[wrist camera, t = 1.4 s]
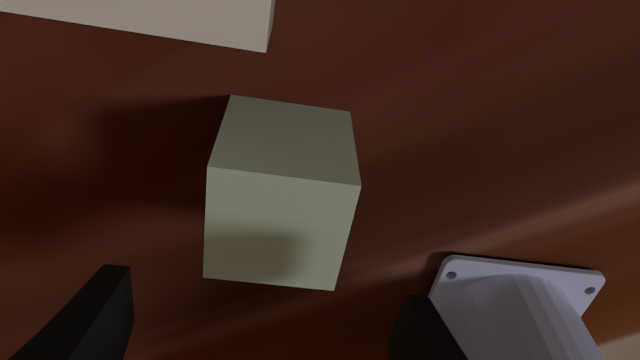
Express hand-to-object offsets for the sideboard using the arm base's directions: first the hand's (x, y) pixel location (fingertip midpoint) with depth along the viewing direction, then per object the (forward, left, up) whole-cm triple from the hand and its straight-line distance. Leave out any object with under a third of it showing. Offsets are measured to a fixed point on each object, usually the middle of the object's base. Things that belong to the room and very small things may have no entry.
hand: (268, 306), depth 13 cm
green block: (0, 0, -8) cm, 8 cm away
